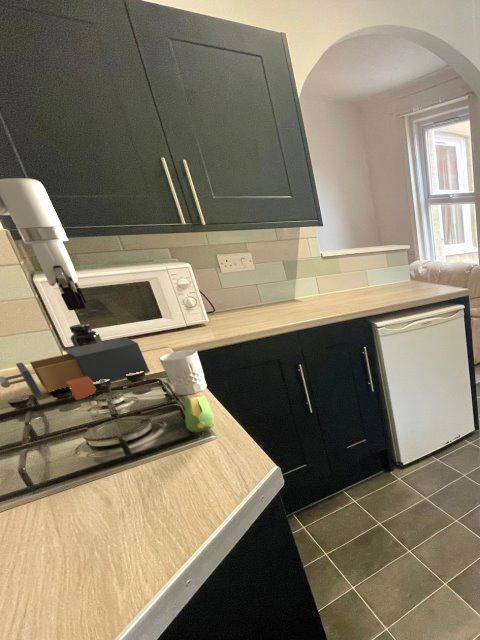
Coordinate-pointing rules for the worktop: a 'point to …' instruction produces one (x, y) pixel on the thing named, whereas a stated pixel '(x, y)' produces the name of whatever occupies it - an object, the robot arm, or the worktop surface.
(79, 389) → the block
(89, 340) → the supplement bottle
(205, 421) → the edible corn
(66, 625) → the worktop surface
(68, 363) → the drawer
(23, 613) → the worktop surface
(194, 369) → the white cup
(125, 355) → the cabinet
